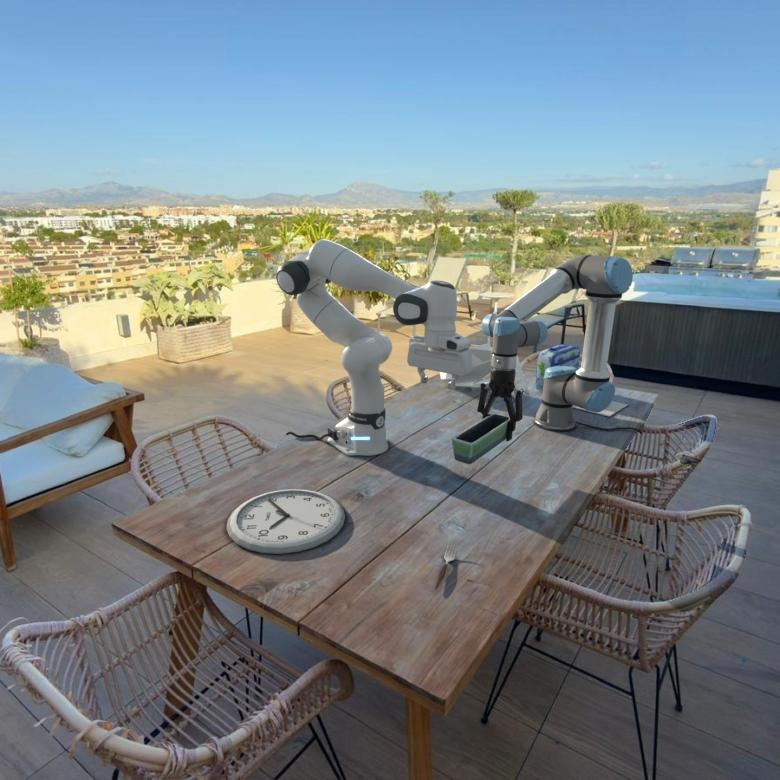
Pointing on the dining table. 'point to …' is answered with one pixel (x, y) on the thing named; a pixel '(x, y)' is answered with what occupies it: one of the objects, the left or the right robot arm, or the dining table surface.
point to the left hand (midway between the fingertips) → (437, 385)
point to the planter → (480, 438)
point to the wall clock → (285, 521)
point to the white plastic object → (483, 367)
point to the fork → (448, 558)
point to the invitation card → (608, 409)
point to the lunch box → (556, 360)
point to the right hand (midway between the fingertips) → (497, 436)
